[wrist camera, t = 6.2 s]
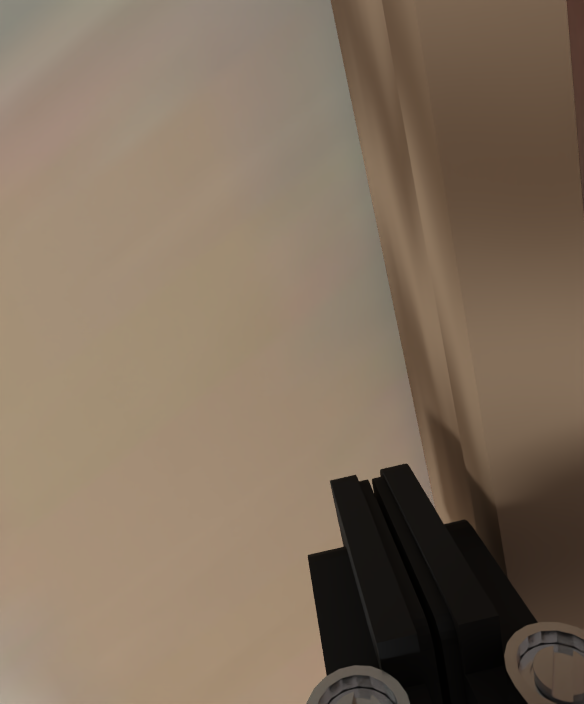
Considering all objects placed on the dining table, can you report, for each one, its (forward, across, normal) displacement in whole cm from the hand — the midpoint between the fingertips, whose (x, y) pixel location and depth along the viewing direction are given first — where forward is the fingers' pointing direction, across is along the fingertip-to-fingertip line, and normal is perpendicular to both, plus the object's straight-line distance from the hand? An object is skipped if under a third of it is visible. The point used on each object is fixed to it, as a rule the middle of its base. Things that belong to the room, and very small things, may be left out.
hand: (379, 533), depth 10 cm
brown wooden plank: (+4, -3, -2) cm, 5 cm away
